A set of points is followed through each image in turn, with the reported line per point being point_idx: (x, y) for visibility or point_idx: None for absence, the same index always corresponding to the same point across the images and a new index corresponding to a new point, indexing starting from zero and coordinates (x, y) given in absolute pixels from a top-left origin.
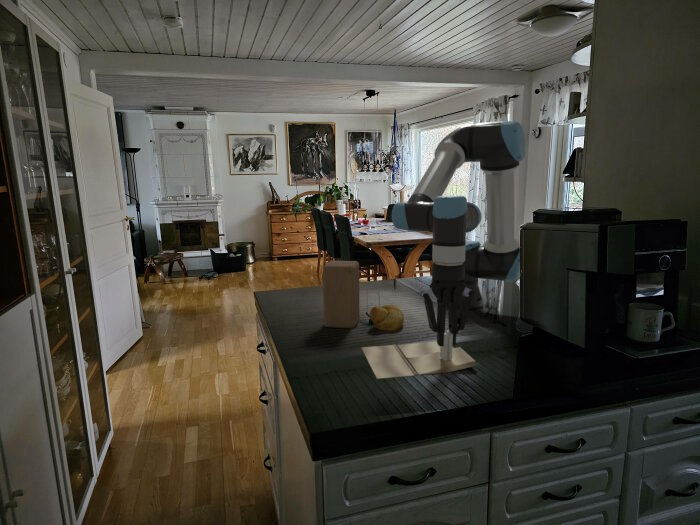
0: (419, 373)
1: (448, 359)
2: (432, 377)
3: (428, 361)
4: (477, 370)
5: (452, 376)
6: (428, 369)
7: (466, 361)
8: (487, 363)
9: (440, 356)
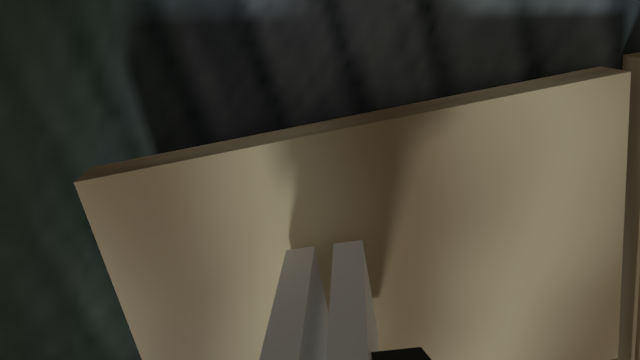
0: (620, 88)
1: None
2: None
3: (481, 280)
4: None
5: (311, 113)
6: (524, 141)
7: (160, 195)
8: (26, 306)
9: (375, 317)
